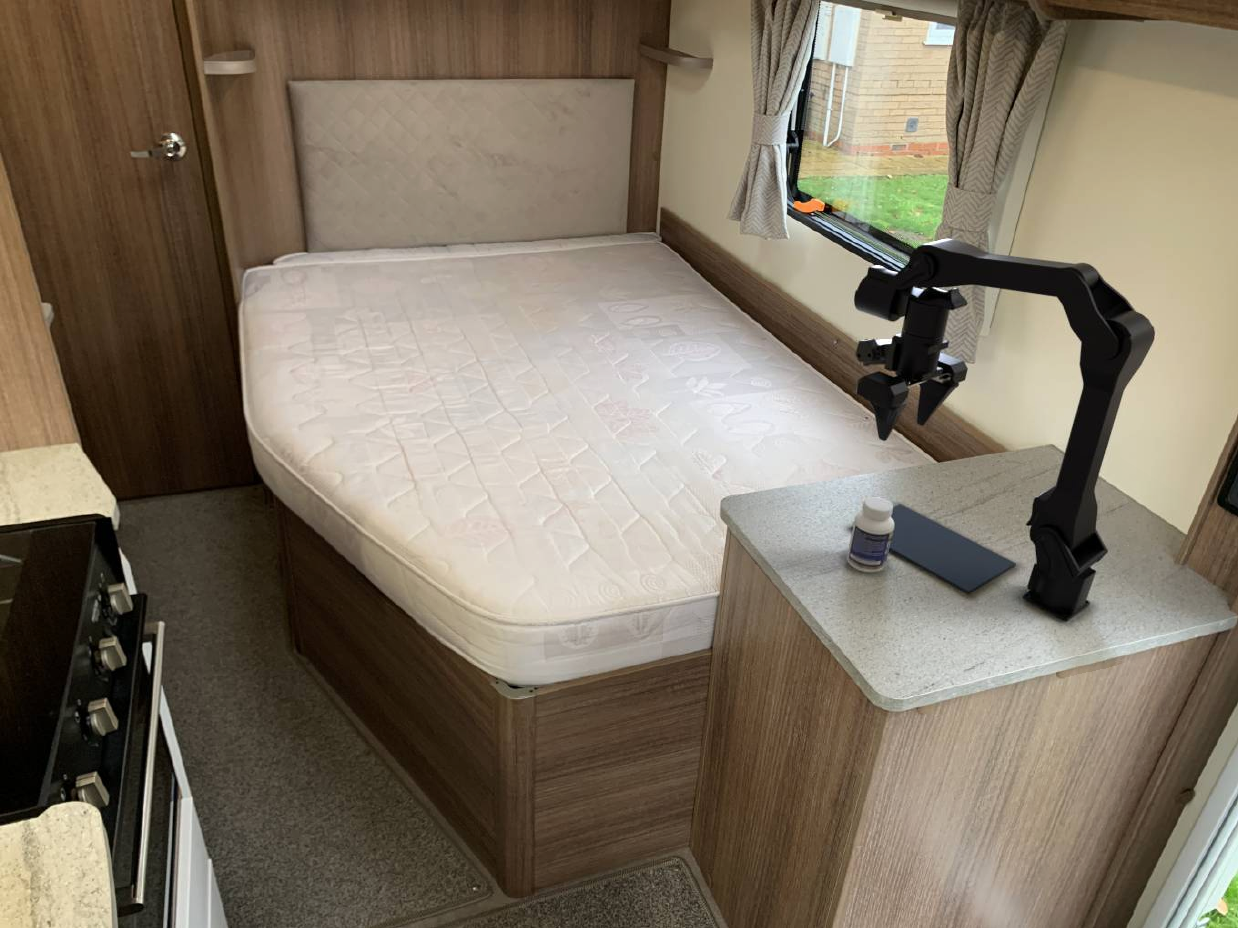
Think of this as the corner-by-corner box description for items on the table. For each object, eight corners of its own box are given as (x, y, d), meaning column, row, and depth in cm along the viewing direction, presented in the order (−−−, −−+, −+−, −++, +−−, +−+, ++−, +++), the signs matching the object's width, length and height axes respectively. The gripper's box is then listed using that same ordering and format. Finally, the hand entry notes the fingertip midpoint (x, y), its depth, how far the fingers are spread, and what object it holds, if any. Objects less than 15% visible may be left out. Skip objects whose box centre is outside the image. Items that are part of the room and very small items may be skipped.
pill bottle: (889, 574, 132) (903, 514, 127) (850, 572, 132) (863, 512, 127) (880, 553, 137) (893, 494, 132) (843, 551, 137) (854, 492, 132)
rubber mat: (1015, 566, 136) (1016, 563, 136) (968, 594, 129) (968, 591, 129) (899, 506, 149) (900, 503, 149) (851, 529, 142) (851, 526, 142)
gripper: (914, 304, 143) (895, 398, 150) (834, 326, 132) (817, 427, 140) (980, 326, 136) (956, 424, 143) (900, 351, 125) (879, 456, 132)
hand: (901, 432), depth 140 cm, fingers open, 9 cm apart
